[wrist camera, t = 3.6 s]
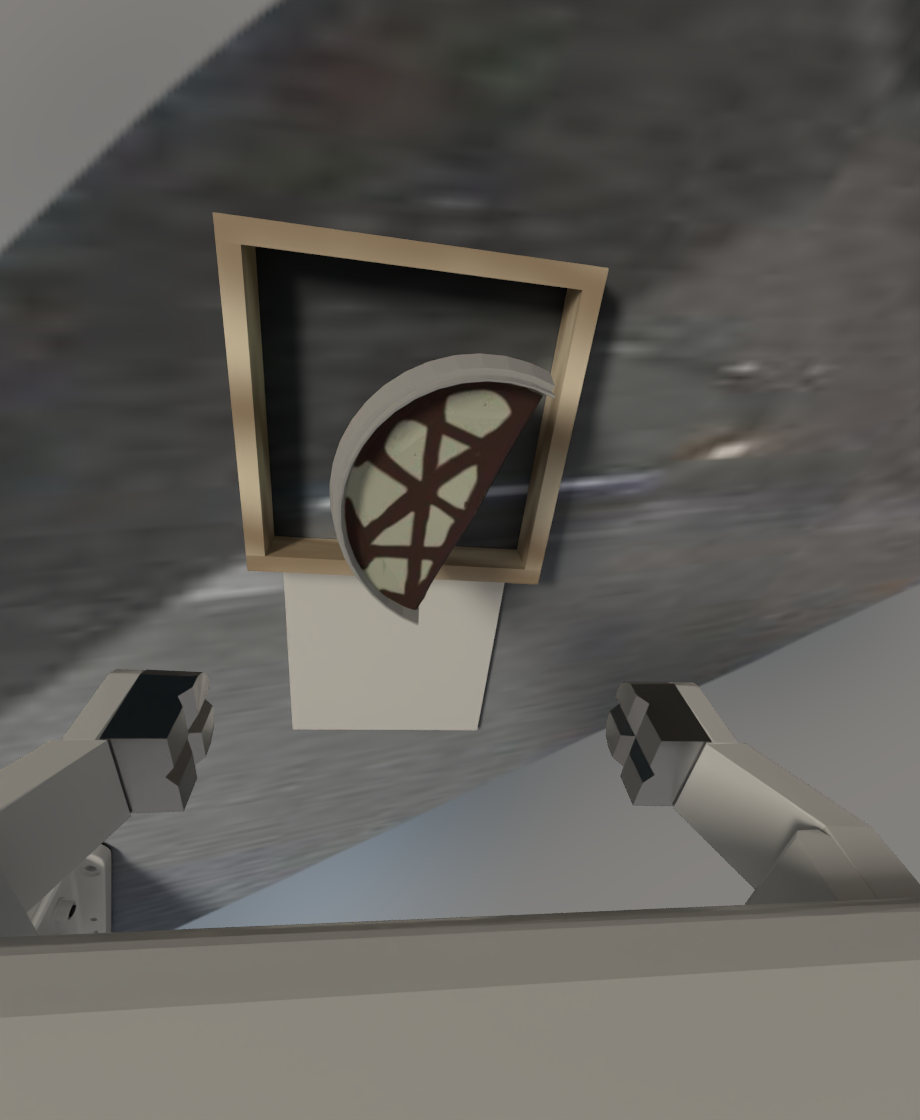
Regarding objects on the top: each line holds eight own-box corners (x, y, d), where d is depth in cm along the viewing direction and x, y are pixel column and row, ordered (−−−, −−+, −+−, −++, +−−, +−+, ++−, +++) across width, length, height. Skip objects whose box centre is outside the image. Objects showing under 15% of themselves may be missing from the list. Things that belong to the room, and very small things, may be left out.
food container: (405, 281, 25) (407, 290, 16) (512, 344, 27) (564, 382, 18) (313, 493, 30) (278, 586, 21) (409, 534, 32) (412, 634, 23)
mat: (476, 726, 41) (477, 730, 40) (293, 725, 39) (292, 729, 38) (504, 575, 34) (505, 578, 34) (284, 564, 32) (283, 568, 32)
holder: (529, 563, 34) (537, 584, 32) (258, 549, 31) (247, 570, 29) (591, 267, 26) (608, 268, 23) (230, 217, 23) (212, 212, 21)
